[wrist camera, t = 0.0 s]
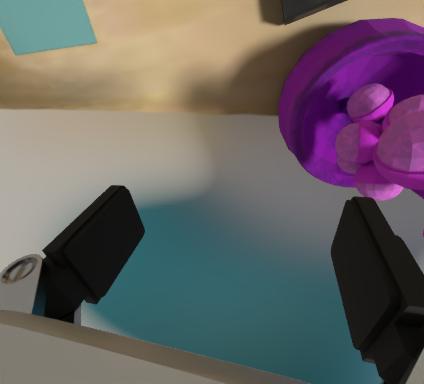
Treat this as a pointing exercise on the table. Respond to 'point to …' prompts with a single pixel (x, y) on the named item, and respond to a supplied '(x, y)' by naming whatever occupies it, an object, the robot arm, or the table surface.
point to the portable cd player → (304, 8)
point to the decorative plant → (360, 108)
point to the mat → (45, 24)
